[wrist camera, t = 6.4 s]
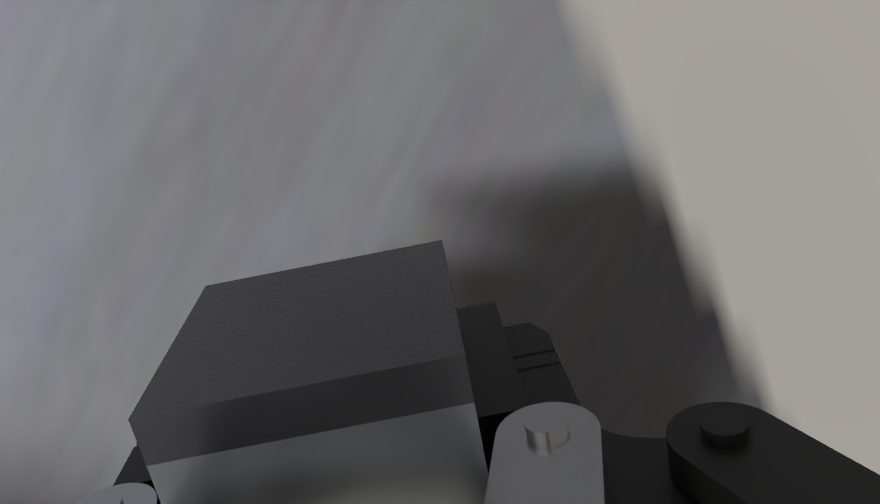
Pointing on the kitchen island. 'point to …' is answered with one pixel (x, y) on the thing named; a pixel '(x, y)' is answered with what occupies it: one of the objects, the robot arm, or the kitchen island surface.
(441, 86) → the kitchen island surface
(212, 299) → the shaft
